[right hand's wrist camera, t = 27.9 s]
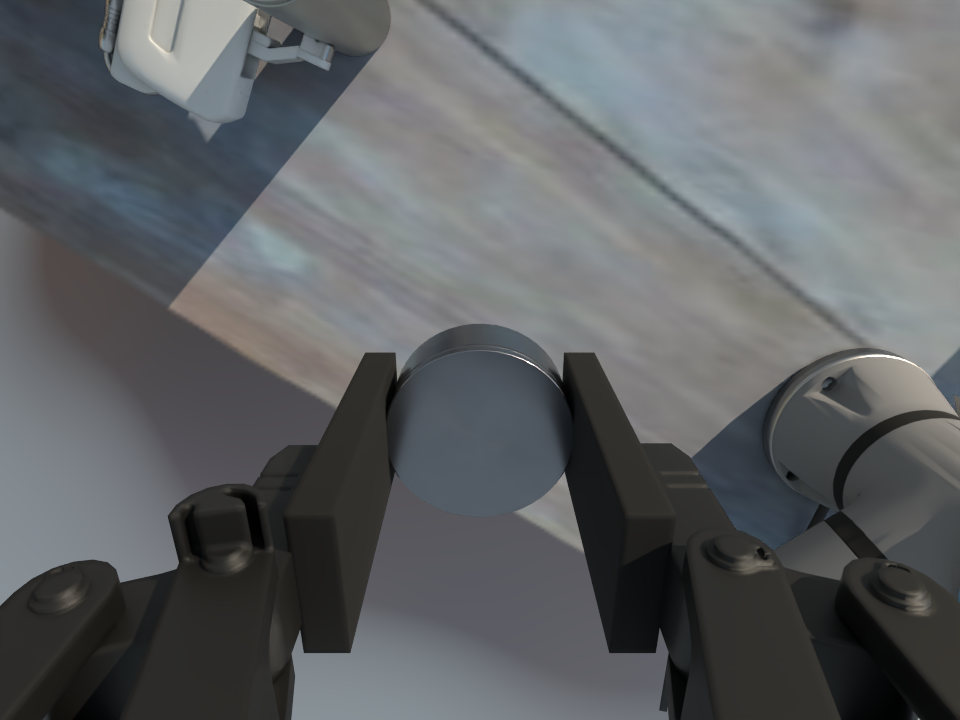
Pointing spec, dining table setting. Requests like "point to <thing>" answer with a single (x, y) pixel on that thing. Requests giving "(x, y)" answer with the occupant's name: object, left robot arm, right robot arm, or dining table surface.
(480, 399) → the cap
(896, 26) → the dining table surface
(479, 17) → the dining table surface
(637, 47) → the dining table surface
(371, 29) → the bottle
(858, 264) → the dining table surface
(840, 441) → the right robot arm
